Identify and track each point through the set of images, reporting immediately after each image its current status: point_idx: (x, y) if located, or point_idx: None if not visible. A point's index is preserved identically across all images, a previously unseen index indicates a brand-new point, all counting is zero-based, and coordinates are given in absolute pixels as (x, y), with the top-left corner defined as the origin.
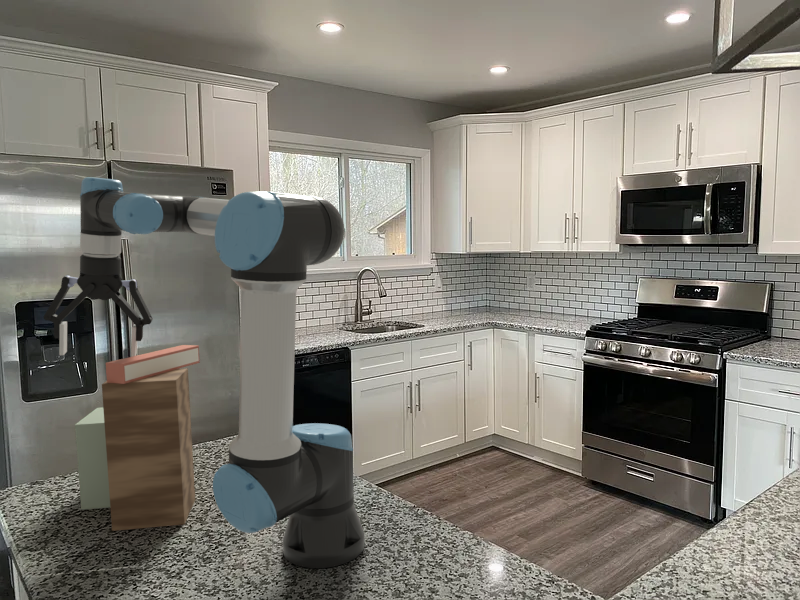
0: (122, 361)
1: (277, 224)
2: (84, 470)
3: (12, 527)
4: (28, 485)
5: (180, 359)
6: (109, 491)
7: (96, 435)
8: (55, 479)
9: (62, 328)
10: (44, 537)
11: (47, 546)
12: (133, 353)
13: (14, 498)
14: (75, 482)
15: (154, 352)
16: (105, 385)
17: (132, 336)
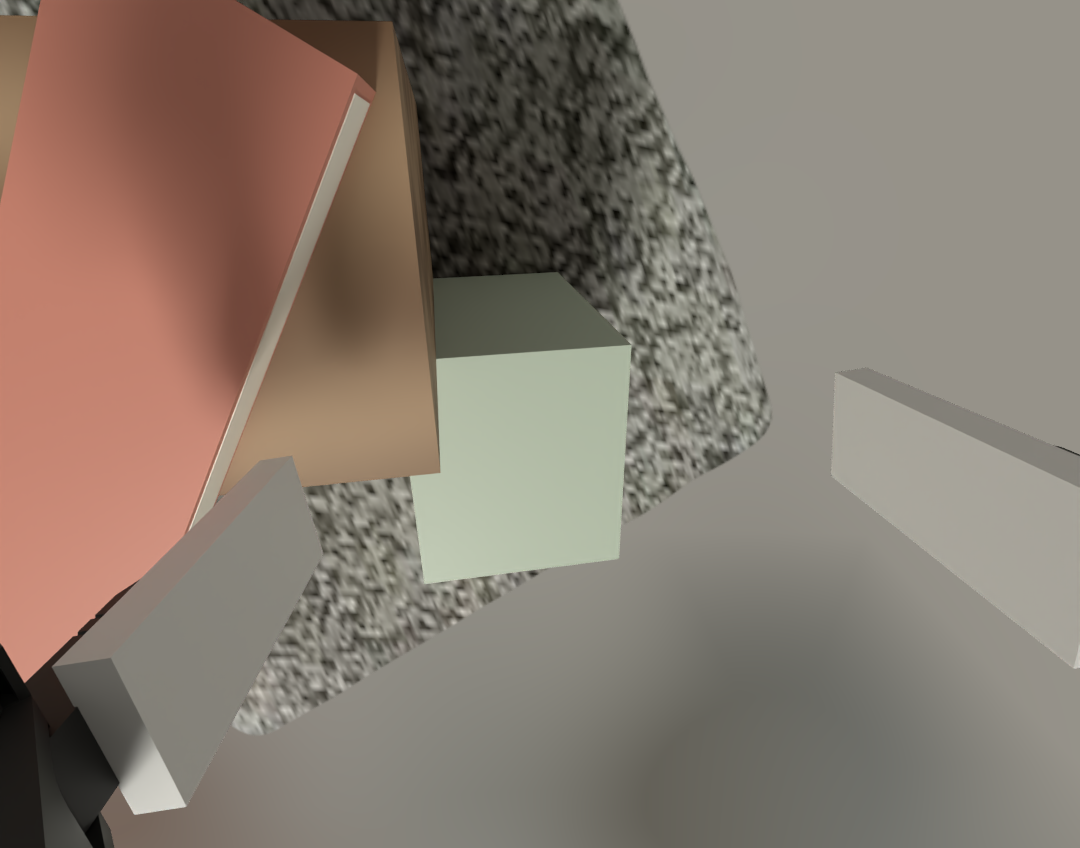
0: (178, 103)
1: None
2: (565, 298)
3: (695, 194)
4: (736, 446)
5: None
6: (413, 95)
7: (542, 335)
8: (686, 474)
9: (1070, 471)
10: (593, 107)
11: (564, 40)
12: (258, 472)
13: (744, 374)
14: (633, 452)
15: (118, 563)
16: (361, 21)
17: (183, 570)
